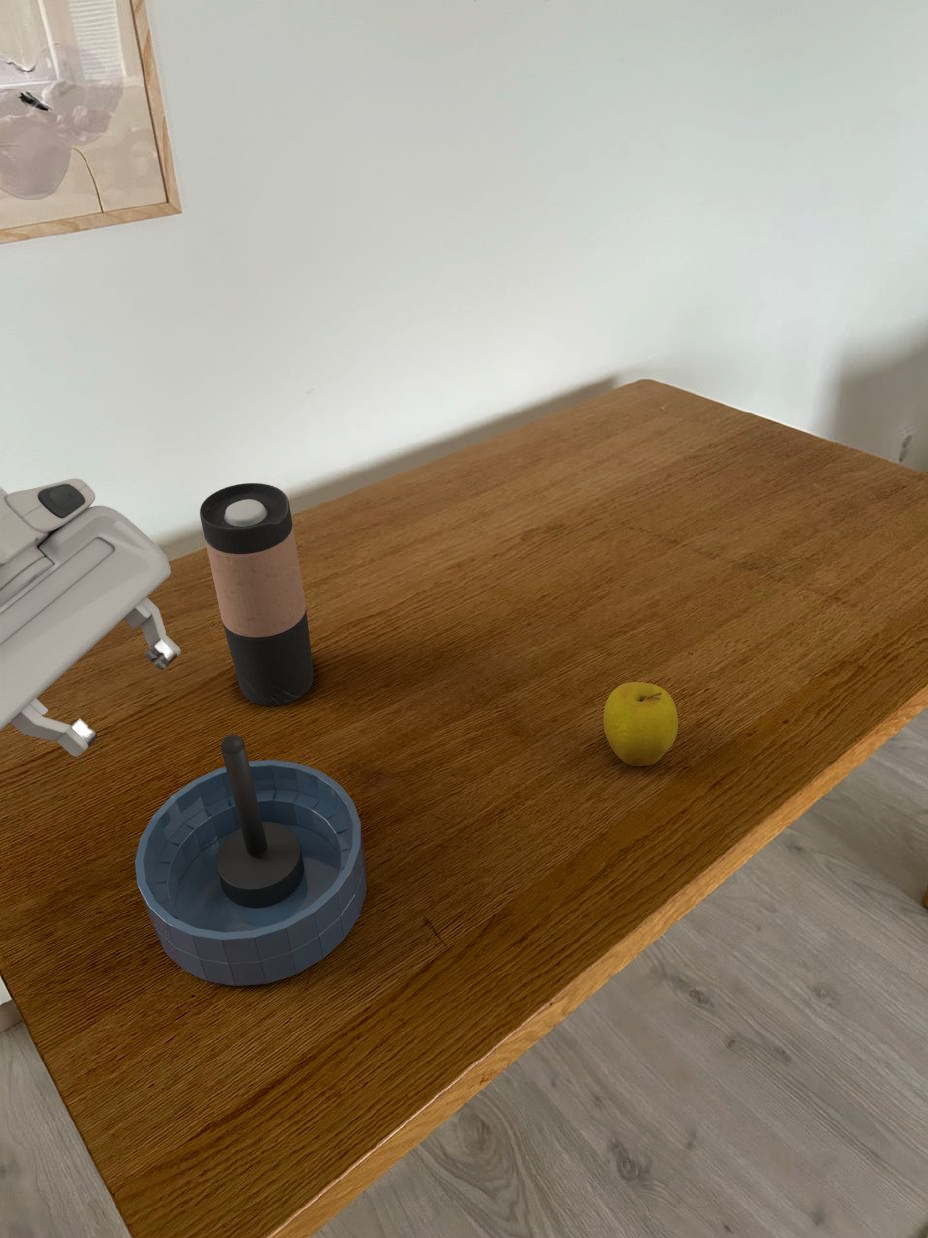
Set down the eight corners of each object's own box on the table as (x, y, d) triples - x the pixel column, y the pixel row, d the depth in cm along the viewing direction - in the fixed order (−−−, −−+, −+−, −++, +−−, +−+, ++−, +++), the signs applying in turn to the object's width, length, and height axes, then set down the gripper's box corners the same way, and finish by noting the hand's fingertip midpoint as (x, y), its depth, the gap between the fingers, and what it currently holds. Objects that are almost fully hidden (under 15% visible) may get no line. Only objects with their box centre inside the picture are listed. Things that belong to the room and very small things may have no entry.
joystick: (257, 923, 73) (223, 787, 63) (204, 877, 76) (163, 742, 67) (321, 869, 77) (297, 733, 67) (267, 827, 80) (237, 692, 70)
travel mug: (230, 666, 97) (191, 492, 84) (306, 647, 99) (279, 474, 86) (245, 717, 91) (205, 538, 79) (325, 696, 93) (299, 518, 81)
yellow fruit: (684, 774, 85) (696, 707, 80) (613, 786, 84) (621, 719, 79) (658, 723, 89) (667, 657, 85) (591, 734, 89) (596, 668, 84)
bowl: (248, 1037, 67) (232, 984, 63) (112, 906, 75) (90, 853, 71) (410, 884, 76) (406, 830, 72) (274, 783, 85) (262, 730, 81)
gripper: (-136, 633, 57) (45, 794, 60) (96, 467, 71) (232, 603, 74) (-160, 672, 61) (11, 820, 64) (64, 507, 75) (194, 635, 79)
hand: (131, 702), depth 69 cm, fingers open, 8 cm apart
